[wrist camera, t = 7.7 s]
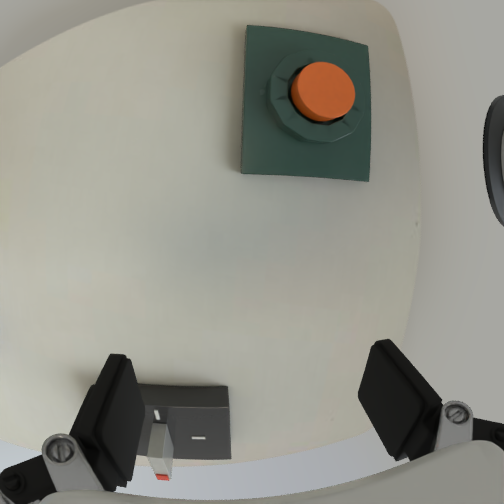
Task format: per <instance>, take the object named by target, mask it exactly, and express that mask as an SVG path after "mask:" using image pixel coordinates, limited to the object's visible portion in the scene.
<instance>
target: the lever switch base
mask: <svg viewBox="0 0 504 504" xmlns="http://www.w3.org/2000/svg"><path fill="white" fill-rule="evenodd" d="M138 386H139V390H140V393H141V396H142V399H143V402H144V405H145V418H144V422H143V427H142V431H141V436H140V440H139V445H138V450H137V455H142V456H147V453H148V447H149V441H150V435H151V429H152V424H153V423H160V424H167V427H168V430H169V434H170V437H171V440H172V444H173V447H174V451H173V458H174V459H198V460H224V459H231V438H230V411H229V395H228V387H184V386H159V385H144V384H138Z"/></svg>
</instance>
